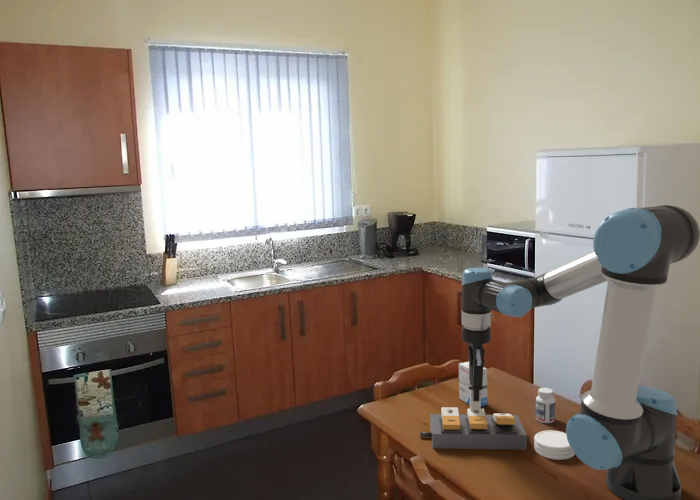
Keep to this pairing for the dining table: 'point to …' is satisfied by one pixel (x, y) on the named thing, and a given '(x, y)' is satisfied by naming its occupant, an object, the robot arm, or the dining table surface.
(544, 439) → the coaster
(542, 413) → the pill bottle
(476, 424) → the rocker
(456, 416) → the rocker
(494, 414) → the block
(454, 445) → the rocker switch panel
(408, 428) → the dining table surface
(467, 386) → the ink box
